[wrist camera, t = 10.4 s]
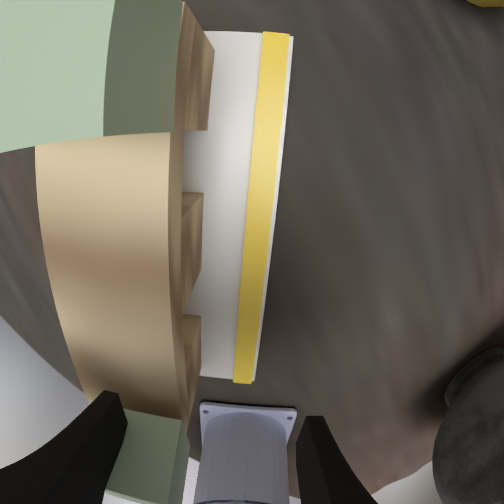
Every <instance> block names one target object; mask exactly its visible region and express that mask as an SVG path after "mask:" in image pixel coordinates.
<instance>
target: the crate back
mask: <svg viewBox="0 0 504 504" xmlns="http://www.w3.org/2000/svg"><path fill="white" fill-rule="evenodd" d="M123 409H124V408H123ZM124 412H125V415H126V418H127V421H128V425H127V429H126V433H125V437H124V441H123V444H122V447H121V449H120V452H119V455H118V457H117V460H116V462H115V465H114V467H113V470H112V472H111V475H110V478H109V480H108V483H107V486H106V489H105V492H104V493H107V494H110V495H113V496H116V497H119V498H123V499H126V500H130V501H133V502H137V503H141V504H182V499H183V492H184V485H185V477H186V471H187V464H188V458H189V451H190V444H189V441H188V438H187V435H186V432H185V429H184V426H183V423H182V420H178V419H172V418H166V417H161V416H156V415H151V414H146V413H142V412H137V411H133V410H129V409H124Z"/></svg>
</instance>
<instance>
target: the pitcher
mask: <svg viewBox="0 0 504 504" xmlns="http://www.w3.org/2000/svg"><path fill="white" fill-rule="evenodd" d="M444 397H445V401H446V404H447V406H449V407H450V408H449V410H448V411H447V413H446V415H445V417H444V419H443V421H442V423H441V425H440V427H439V430H438V433H437V436H436V439H435V443H434V449H433V456H432V462H433V476H434V480H435V485H436V489H437V492H438V494H439V496H440V499H441V501H442V503H443V504H504V350H503V349H502V348H500V347H497V348H490V349H488V350H486V351H484V352H482V353H480V354H479V355H477V356H476V357H475V358H473V359H472V360H471V361H469V362H468V363H467V364H466V365H465V366H464V367H463V368H462V369H461V370H460V371H459V372H458V373H457V374H456V375H455V376H454V378H453V379H452V380H451V382H450V383H449V384H448V386H447V389H446V391H445V394H444Z"/></svg>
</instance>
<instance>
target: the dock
mask: <svg viewBox="0 0 504 504" xmlns="http://www.w3.org/2000/svg"><path fill="white" fill-rule="evenodd" d="M204 33H205V35H206V36H207V38H208V40H209V41H210V43H211V45H212V46H213V48H214V50H215V54H214V64H213V74H212V84H211V95H210V106H209V118H208V131H201V130H185V132H184V149H183V169H182V192H197V193H204V200H203V225H202V262H201V271H200V273H199V276H198V278H197V281H196V283H195V286H194V288H193V290H192V293H191V295H190V298H189V300H188V303H187V306H186V308H185V311H184V313H183V314H188V315H197V316H201V359H202V367H201V371H200V376H208V377H216V378H225V379H233V383H245V384H251V382H252V381H255V374H256V366H257V359H258V352H259V345H260V337H261V330H262V322H263V314H264V307H265V299H266V291H267V283H268V275H269V267H270V259H271V250H272V242H273V234H274V225H275V216H276V208H277V199H278V190H279V181H280V172H281V162H282V153H283V143H284V133H285V123H286V113H287V103H288V92H289V82H290V71H291V59H292V48H293V36H290V34H284V33H275V32H264V31H263V33H251V32H228V31H204Z"/></svg>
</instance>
